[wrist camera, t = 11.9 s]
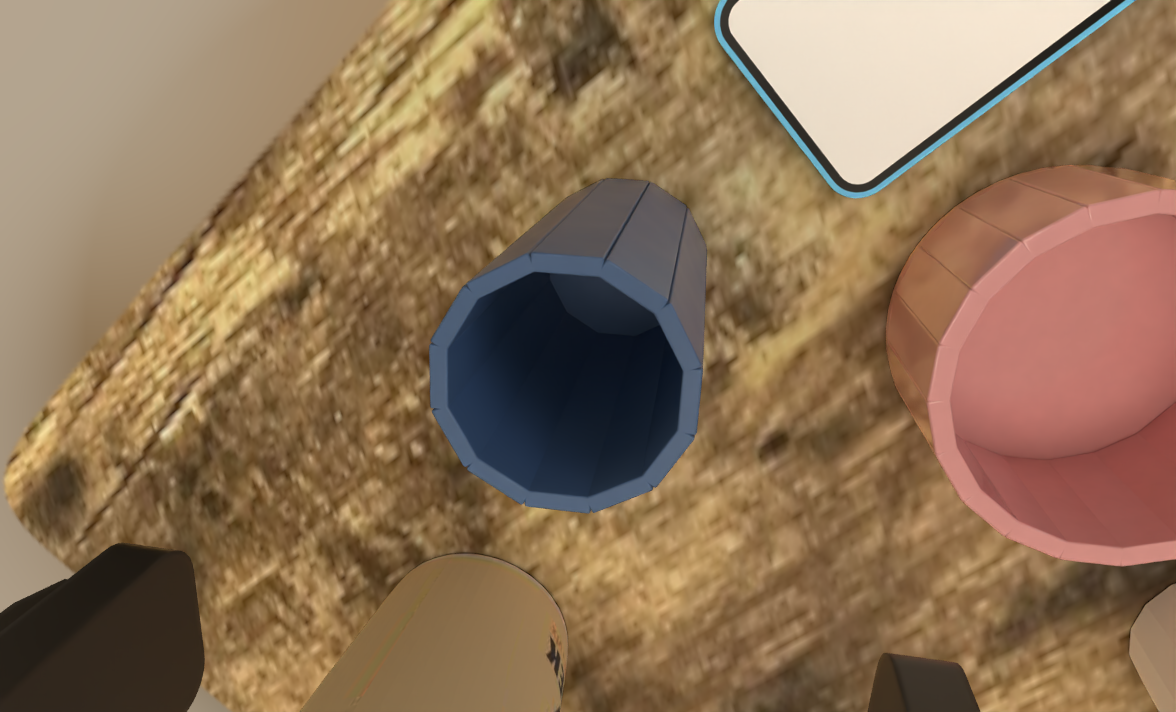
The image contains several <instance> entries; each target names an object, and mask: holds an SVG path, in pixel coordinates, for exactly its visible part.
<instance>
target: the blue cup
mask: <svg viewBox="0 0 1176 712" xmlns="http://www.w3.org/2000/svg"><path fill="white" fill-rule="evenodd" d="M686 207H687V206H686V205H685V204H683V203H682V202H680V201H679V200H677V199H676V198H674V197H673V196H672V195H670V194H669V193H667V192H666V191H664V190H663V189H661V188H660V187H658V186H657V185H655V184H654V183H652V182H650V184H649V181H643V180H628V179H612V178H606V179H605V180H604V179H602V180H600V181H598V182H596V183H594V184H592V185H590V186H588V187H586V188H584V189H582V190H580V191H578V192H576V193H574V194H572V195H570V196H568V197H567V198H565V199H564V200H563V201H562V202H561V203H560V204H558V205H557V206H556V207H555V208H554V209H553V210H551V211H550V212H549V213H548V214H547V215H546V216H544V217H543V218H542V219H541V220H540V221H539V222H537V223H536V224H535V225H534V226H533V227H532V228H530V229H529V230H528V231H527V232H526V233H525V234H523V235H522V236H521V237H520V238H519V239H517V240H516V241H515V242H514V243H513V244H512V245H510V246H509V247H508V248H507V249H506V250H505V251H503V252H502V253H501V254H500V255H499V256H498V257H496V258H495V259H494V260H493V261H492V262H491V263H489V264H488V265H487V266H486V267H485V268H484V269H482V270H481V271H480V272H479V273H478V274H477V275H475V276H474V277H473V278H472V279H471V280H470V281H468V282H467V283H466V284H465V285H464V286H463V287H462V289H461V290H460V292H459V294H458V295H457V297H456V299H455V300H454V302H453V303H452V305H451V307H450V308H449V310H448V312H447V313H446V315H445V317H444V318H443V320H442V322H441V323H440V325H439V327H438V328H437V330H436V332H435V333H434V335H433V337H432V338H431V342H432V343H431V344H430V345H429V356H430V406H431V408H434V409H433V410H432V413H433V415H434V417H435V418H436V420H437V422H438V423H439V425H440V427H441V428H442V430H443V432H444V434H445V435H446V437H447V439H448V440H449V442H450V444H451V446H452V447H453V449H454V451H455V452H456V454H457V456H458V457H459V459H460V461H461V463H462V464H463V466H464V467H465V466H468V465H469V466H468V467H467V470H468V471H470V472H471V473H473V474H474V475H476V476H477V477H479V478H480V479H482V480H484V481H485V482H487V483H488V484H490V485H491V486H493V487H494V488H496V489H498V490H499V491H501V492H502V493H504V494H505V495H507V496H508V497H510V498H512V499H513V500H515V501H516V502H518V503H519V504H523V503H524V502H525V506H528V507H536V508H545V509H554V510H563V511H571V512H580V513H590V512H591V510H592V512H593V513H595V512H597V511H600V510H603V509H605V508H608V507H610V506H613V505H616V504H618V503H621V502H623V501H626V500H628V499H631V498H634V497H636V496H639V495H641V494H644V493H646V492H649V491H651V490H653V487H657V486H658V485H659V483H660V482H661V481H662V480H663V478H664V477H665V476H666V474H667V473H668V472H669V471H670V469H671V468H672V467H673V466H674V464H675V463H676V462H677V460H678V459H679V458H680V457H681V455H682V454H683V453H684V452H685V450H686V449H687V448H688V446H689V445H690V444H691V443H692V441H693V440H694V438H695V435H696V433H697V425H698V415H699V405H700V395H701V385H702V375H703V353H704V324H705V295H706V266H707V249H706V244H705V242H704V239H703V237H702V235H701V233H700V231H699V229H698V227H697V225H696V223H695V220H694V218H693V216H692V214H691V212H690V210H689V208H686Z"/></svg>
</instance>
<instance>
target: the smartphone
mask: <svg viewBox="0 0 1176 712" xmlns="http://www.w3.org/2000/svg"><path fill="white" fill-rule="evenodd" d="M1134 1H1135V0H720V2H719V4H718V6H717V9H716V12H715V17H714V28H715V33H716V36H717V39H718V41H719V43H720V44H721V46H722V47H723V48H724V50H725V51H726V52H727V54H728V55H729V56H730V57H731V59H732V60H733V61H734V63H735V64H736V65H737V66H738V68H739V69H740V70H741V72H742V73H743V74H744V76H745V77H746V78H747V79H748V81H749V82H750V83H751V85H752V86H753V87H754V88H755V90H756V91H757V92H758V94H759V95H760V96H761V98H762V99H763V100H764V101H765V103H766V104H767V106H768V107H769V108H770V109H771V110H772V112H773V113H774V114H775V116H776V117H777V118H778V120H779V121H780V122H781V123H782V125H783V126H784V127H785V129H786V130H787V131H788V133H789V134H790V136H792V138H793V139H794V140H795V142H796V143H797V144H798V145H799V147H800V148H801V149H802V151H803V152H804V153H805V154H806V156H807V157H808V158H809V160H810V161H811V162H812V164H813V165H814V166H815V167H816V169H817V170H818V171H819V173H820V174H821V175H822V176H823V178H824V179H825V180H826V182H827V183H828V184H829V185H830V187H831V188H832V189H833V190H835V191H836V192H837V193H839V194H841V195H843V196H846V197H850V198H863V197H868V196H871V195H873V194H875V193H877V192H878V191H880V190H881V189H883V188H884V187H885V186H887V185H888V184H889V183H891V182H892V181H893V180H895V179H896V178H897V177H899V176H900V175H902V174H903V173H904V172H906V171H907V170H908V169H910V168H911V167H912V166H914V165H915V164H916V163H918V162H919V161H920V160H922V159H923V158H924V157H926V156H927V155H928V154H930V153H931V152H932V151H934V150H935V149H936V148H938V147H939V146H940V145H942V144H943V143H945V142H946V141H947V140H949V139H950V138H951V137H953V136H954V135H955V134H957V133H958V132H959V131H961V130H962V129H963V128H965V127H966V126H967V125H969V124H970V123H971V122H973V121H974V120H975V119H977V118H978V117H979V116H981V115H982V114H983V113H985V112H986V111H988V110H989V109H990V108H992V107H993V106H994V105H996V104H997V103H998V102H1000V101H1001V100H1002V99H1004V98H1005V97H1006V96H1008V95H1009V94H1010V93H1012V92H1013V91H1014V90H1016V89H1017V88H1018V87H1020V86H1021V85H1022V84H1024V83H1025V82H1026V81H1028V80H1029V79H1031V78H1032V77H1033V76H1035V75H1036V74H1037V73H1039V72H1040V71H1041V70H1043V69H1044V68H1045V67H1047V66H1048V65H1049V64H1051V63H1052V62H1053V61H1055V60H1056V59H1057V58H1059V57H1060V56H1061V55H1063V54H1064V53H1065V52H1067V51H1068V50H1069V49H1071V48H1072V47H1074V46H1075V45H1076V44H1078V43H1079V42H1080V41H1082V40H1083V39H1084V38H1086V37H1087V36H1088V35H1090V34H1091V33H1092V32H1094V31H1095V30H1096V29H1098V28H1099V27H1100V26H1102V25H1103V24H1104V23H1106V22H1107V21H1108V20H1110V19H1111V18H1112V17H1114V16H1115V15H1117V14H1118V13H1119V12H1121V11H1122V10H1123V9H1125V8H1126V7H1127V6H1129V5H1130V4H1131V3H1133V2H1134Z"/></svg>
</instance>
